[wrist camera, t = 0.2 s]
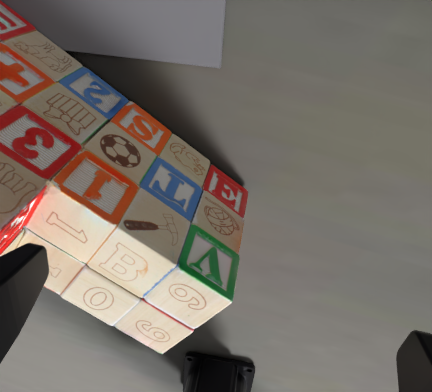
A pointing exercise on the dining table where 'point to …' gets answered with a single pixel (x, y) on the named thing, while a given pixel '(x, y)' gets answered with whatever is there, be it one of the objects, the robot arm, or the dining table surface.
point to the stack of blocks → (110, 196)
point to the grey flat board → (132, 27)
